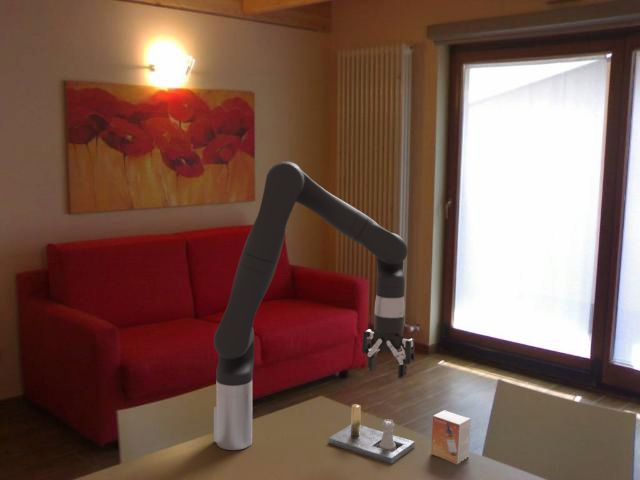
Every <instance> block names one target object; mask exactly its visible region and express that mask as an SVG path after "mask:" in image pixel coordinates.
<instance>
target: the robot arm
mask: <svg viewBox="0 0 640 480" xmlns="http://www.w3.org/2000/svg"><path fill="white" fill-rule="evenodd" d="M264 183H265V184H264V189H263V194H262V199H261V201H260V207H259V210H258V213H257V216H256V218H255V221H254V222H253V224H252V227H251V229H250V231H249V234H248V235H247V239H246V241H245V243H244V246H243V249H242V251H241V255H240V257H239V261H238V265H237V268H236V271H235V275H234V279H233V282H232V287H231V292H230V297H229V301H228V303H227V306H226V309H225V311H224V314H223V316H222V318H221V321H220V322H219V325H218V327H217V328H216V330H215V333H214V337H213V345H214V348H215V350H216V352H217V354H218V362H217V367H216V372H215V374H216V377H215V379H216V383H215V384H216V388H215V389H216V405H215V406H214V407H213V442H214V443H215V444H216V446H218V448H220V449H223V450H225V451H226V450H228V451H238V450H239V451H240V450H244V449H247V448H249V447H250V446H251V445H252V444H253V371H254V363H255V362H254V361H255V330H254V327H253V325H254V322H255V317H256V314H257V312H258V309H259V308H260V305H261V303H262V301H263V299H264V298H265V295H266V294H267V291H268V289H269V287H270V285H271V282H272V280H273V279H274V274H275V272H276V269H277V265H278V263H279V261H280V256H281V252H282V249H283V245H284V239H285V234H286V228H287V224H288V221H289V218H290V216H291V213H292V212H293V208H294V206H295V204H296V203H298V204H300V205H302V206H303V207H306V208H307V209H309V211H310V210H311V211H312V212H313V213H315V214H316V215H318V216H319V217H320V218H321V219H322V220H324V222H325V223H327V224H328V225H330V226H331V227H333V228H334V229H335V230H337V231H338V232H339V233H341V234H342V235H344V236H345V237H347V238H349V239H351V241H354V242H355V243H356V244H359V245H361V246H362V247H364V248H365V249H367V250H368V251H369V252H370V253H372V254H373V255H374V256H375V257H376V261H377V262H376V263H377V264H376V267H377V276H376V295H375V302H374V319H373V320H374V321H373V322H374V324H373V329H374V331H373V330H372V329H367V330H365V331H363V334H362V335H363V336H362V344H361V353H363V354H365V355H367V357H368V361H367V362H368V363H367V368H368V369H369V371H371V372H374V371H376V370H377V363H378V362H377V361H378V360H377V357H378V356H377V353H378V352H379V351H381V352H387V353H389V354H392V355H393V357H395V358H396V360H397V361H398V363H399V364H398V368H397V369H398V370H397V371H398V373H397V378H398V379H400V380H402V379H404V378H405V377H406V376H407V373H408V372H407V369H408V367H407V366H408V365H409V364H412V363H414V362H415V350H416V349H415V339H414V338H410V339H407V338H405V337H404V328H405V312H406V311H405V310H406V308H405V305H406V304H405V284H406V283H405V275H404V261H405V260H406V258H407V256H408V250H409V249H408V245H407V243H406V242H405V240H404V239H403V238H402V237H401V236H400V234H396V233H395V232H394V233H393V232H391V231H389V230H387V229H386V228H384V227H382V226H381V225H380V224H378V223H377V222H376V221H375V220H373V219H372V218H371V217H369V216H368V215H366V214H365V213H363V212H362V211H360V210H358V208H356V207H354V206H352V205H351V204H349V203H347V202H345V201H344V200H342V199H340V198H339V197H337V196H335V195H334V194H332V193H330V192H329V191H327V189H324V188H323V187H322V186H321V185H319V184H318V183H317V182H315V181H314V180H313V179H312V178H311V177H309V176H308V174H307V173H305V172H304V171H303V170H302V169H301V168H300V166H299V165H298V164H296V163H294V162H293V161H289V160H288V161H287V160H285V161H280V162H277V163H276V164H274V165H273V166H272V167H271V168H270V169H269V170H268V171H267V174H266V177H265V182H264ZM372 339H373V340H374V341H375V343H374V344H373V345H372ZM404 348H405V349H404Z"/></svg>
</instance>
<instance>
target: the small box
mask: <svg viewBox="0 0 640 480" xmlns="http://www.w3.org/2000/svg"><path fill="white" fill-rule="evenodd" d="M471 421H472V419H471V417H467V416H463V415H460V414H457V413H454V412H451V411H448V410H446V409H445V410H441V411H440V412H438V413H435V414H433V416H432V428H431V429H432V430H431V440H430V441H431V445H430V454H431V455H433V456H436V457H439V458H441V459H444V460H445V461H447V462H450V463H453V464H454V465H459V464H460V463H462V462H463V461H465V460H466V459H468V458H469V457H470V440H471V423H472V422H471ZM467 457H468V458H467ZM464 459H465V460H464ZM461 461H462V462H461Z"/></svg>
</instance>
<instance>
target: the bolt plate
mask: <svg viewBox="0 0 640 480" xmlns="http://www.w3.org/2000/svg"><path fill="white" fill-rule="evenodd" d="M361 409H362V406H361V404H358V403H354V404H352V405H351V416H350V417H351V418H350V419H351V420H350V424H349V425H348V426H346V427H345V428H343V429H341V430H340V431H338V432H336V433H334V434H332V435H331V436H329V437H328V444H330V445H332V446H336V447H339V448H342V449H345V450H348V451H351V452H353V453H356V454H360V455H362V456H366V457H369V458H372V459H375V460H377V461H381V462H383V463H386V464H390V465H393V464H394V463H395V462H396V461H398V460H399V459H400V458H402V457H403V456H405V454H407V453H408V452H411V451H412V450H413V449H414V448H416V447H415V445H416V441H414V440H412V439H408V438H405V437H401V436H397V435H394V434H393V440H394V443H395V444H396V447H395V448H396V450H395V451H394V452H390V451H387V450H384V449H380V448H379V447H380V446H379V443H380V442H381V440H382V437H383V430H382V431H381V430H378V429H375V428H370V427H368V426H365V425H361V418H362V417H361V413H362V410H361Z"/></svg>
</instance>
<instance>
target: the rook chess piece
mask: <svg viewBox="0 0 640 480" xmlns="http://www.w3.org/2000/svg"><path fill="white" fill-rule="evenodd" d="M381 426H382V428H383V429H382V432H383V437H382V440H381V442H380V443H379V447H378V448H380V449H384V450H387V451H390V452H394V451H395V450H396V449H397V447H396V444H395V443H394V440H393V435H394V433H393V432H394V429H393V428H394V427H395V423H394V420H393V419H389V418H386V419H384V420H383V422H382V423H381Z"/></svg>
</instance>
